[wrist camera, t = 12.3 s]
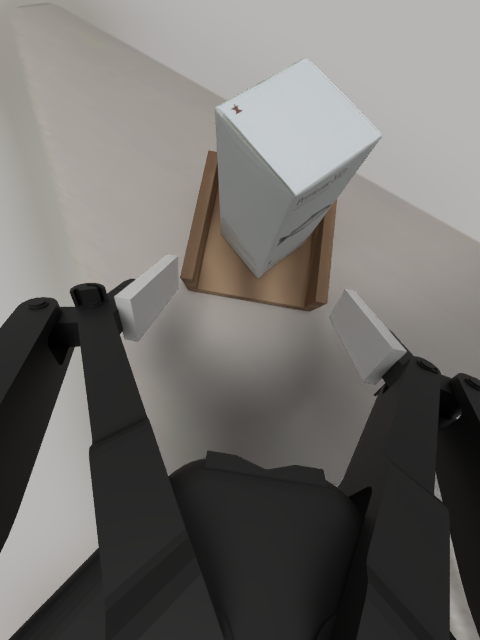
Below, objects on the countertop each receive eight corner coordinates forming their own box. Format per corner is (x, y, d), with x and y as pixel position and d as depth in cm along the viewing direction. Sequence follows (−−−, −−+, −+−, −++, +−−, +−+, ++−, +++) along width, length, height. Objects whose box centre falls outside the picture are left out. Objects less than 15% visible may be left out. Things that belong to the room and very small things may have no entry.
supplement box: (257, 281, 23) (293, 198, 10) (219, 233, 23) (209, 100, 11) (304, 246, 24) (388, 133, 11) (266, 202, 24) (307, 47, 12)
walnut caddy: (321, 204, 26) (339, 177, 22) (309, 311, 24) (326, 303, 20) (211, 182, 26) (208, 150, 21) (188, 290, 23) (180, 277, 19)
